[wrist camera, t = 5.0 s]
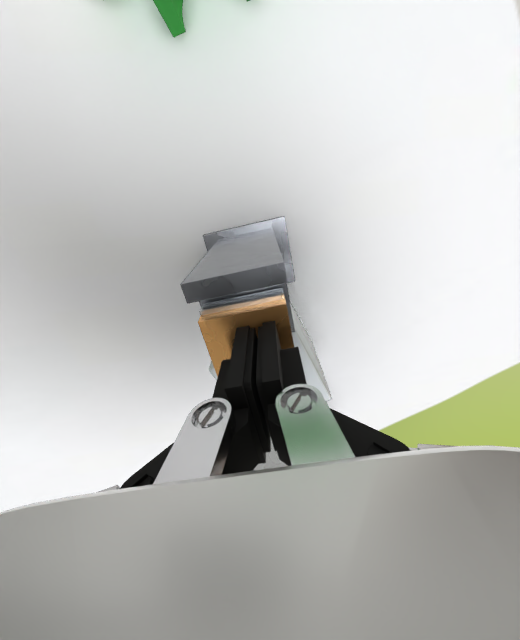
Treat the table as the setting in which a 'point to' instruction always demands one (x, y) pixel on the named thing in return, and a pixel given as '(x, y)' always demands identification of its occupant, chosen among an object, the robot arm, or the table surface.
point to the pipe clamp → (172, 15)
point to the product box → (304, 359)
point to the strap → (240, 312)
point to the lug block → (242, 264)
